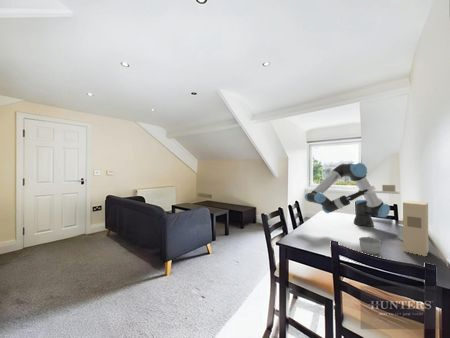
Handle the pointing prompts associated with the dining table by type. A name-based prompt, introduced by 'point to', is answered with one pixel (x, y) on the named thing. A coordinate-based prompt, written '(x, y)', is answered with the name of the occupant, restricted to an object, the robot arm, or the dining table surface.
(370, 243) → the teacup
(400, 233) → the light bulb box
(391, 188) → the flap strip
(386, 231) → the dining table surface
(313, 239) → the dining table surface
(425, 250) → the carton
